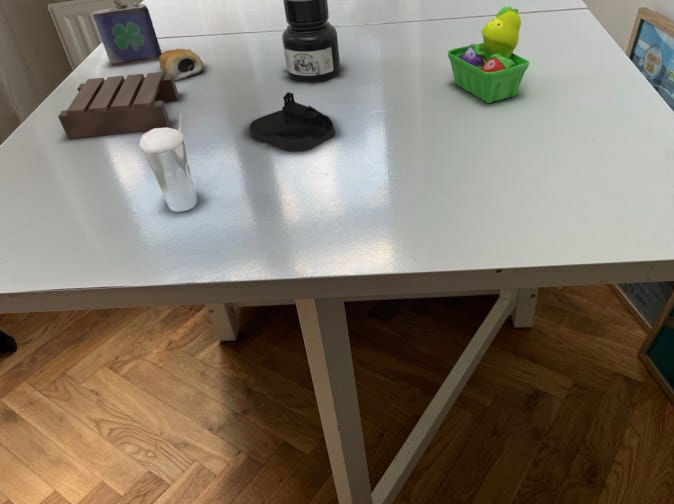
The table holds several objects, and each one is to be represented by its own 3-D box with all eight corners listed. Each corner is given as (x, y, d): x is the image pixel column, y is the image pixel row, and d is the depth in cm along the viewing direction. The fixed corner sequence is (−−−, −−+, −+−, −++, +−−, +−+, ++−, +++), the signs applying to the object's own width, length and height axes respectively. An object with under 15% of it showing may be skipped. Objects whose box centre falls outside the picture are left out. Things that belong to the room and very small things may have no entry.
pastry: (153, 67, 99) (146, 45, 96) (189, 58, 102) (183, 37, 99) (172, 82, 93) (165, 59, 90) (209, 72, 96) (204, 49, 93)
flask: (110, 67, 100) (86, 2, 93) (111, 61, 102) (88, -2, 95) (163, 59, 102) (144, -5, 95) (162, 54, 104) (143, -9, 97)
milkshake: (216, 199, 65) (193, 118, 58) (177, 220, 62) (147, 137, 55) (194, 186, 67) (169, 107, 61) (155, 206, 64) (124, 125, 58)
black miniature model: (239, 132, 78) (231, 98, 75) (291, 107, 83) (285, 74, 80) (297, 156, 72) (291, 120, 68) (349, 128, 77) (346, 93, 74)
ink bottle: (277, 80, 92) (263, 2, 84) (298, 61, 98) (287, -14, 90) (331, 85, 89) (323, 4, 81) (350, 65, 95) (343, -12, 87)
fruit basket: (443, 83, 88) (445, 6, 80) (489, 71, 90) (496, -4, 83) (485, 109, 80) (492, 26, 72) (534, 95, 83) (546, 14, 75)
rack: (68, 139, 79) (55, 112, 76) (89, 104, 88) (78, 79, 85) (168, 128, 80) (159, 101, 77) (179, 95, 89) (171, 70, 86)
